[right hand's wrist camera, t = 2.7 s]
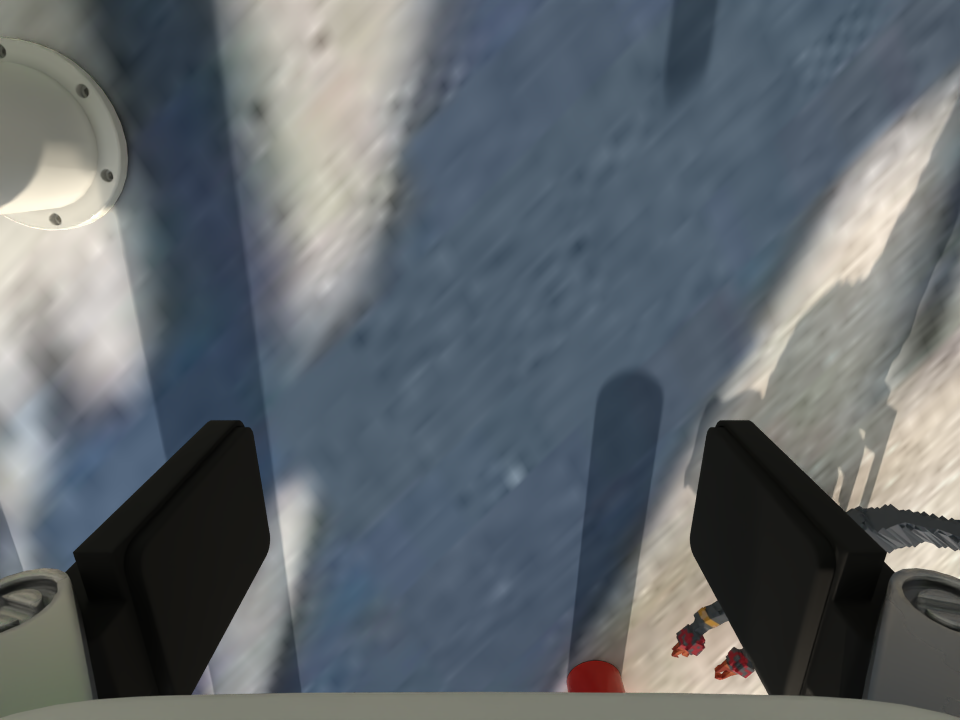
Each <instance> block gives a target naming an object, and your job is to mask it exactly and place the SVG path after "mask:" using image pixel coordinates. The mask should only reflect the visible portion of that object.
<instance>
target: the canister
mask: <svg viewBox="0 0 960 720" xmlns="http://www.w3.org/2000/svg"><path fill="white" fill-rule="evenodd" d="M567 688H568V693H625V690H624V686H623V682H622V679H621V675H620V673H619V671H618V670H617V668H616V667H614V666H613V665H612V664H610V663H607V662H604V661H588V662H584V663H581V664H579V665H578V666H576V667H575V668H573V669H572V671H571V672H570V673H569V675H568V678H567Z"/></svg>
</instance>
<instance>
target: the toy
mask: <svg viewBox="0 0 960 720" xmlns="http://www.w3.org/2000/svg"><path fill="white" fill-rule="evenodd" d="M846 513H847V514H848V515H849V516H850V517H851V518H852V519H853V520H854V521H855V522H856V523H857V524H858V525H859V526H860V527H861V528H862V529H863V530H864V531H865V532H866V533H868V534H869V535H870V536H871V537H872V538H873V539H874V540H875V541H876V542H877V543H878V544H879V545H880V546H881V547H882V548H883V549H884V550H885V551H886V552H888V553H891V552H892V551H893V550H894V549H897V548H903V547H906V546H907V547H911V546H912V545H913V546H914V547H916V546H917V545H918V544H919V543H923V542H924V541H926V542H929V543H933V544H934V545H936V546H937V547H938V548H941V547H942V546H943V547H944V548H946V547H950V548H951V549H953V550H954V551H956V550H958V549H959V550H960V520H954V519H953V518H951V519H949V520H947V519H946V518H945V517H943V516H941V517H940V518H938V517H937V516H936V515H934V514H931V515H930V516H929V515H928V514H927V513H925V512H922V513H921V514H920V513H919V512H914V513H913V512H912V511H911V510H906V511H905V510H898V509H897V508H895V507H894V506H893V505H891V504H890V505H889V506H887V505H886V504H885V505H884V506H883V507H881V508H880V509H879V508H878V507H876V508H875V509H874V508H872V507H871V508H868V509H863V508H862V507H860V506H859V507H857V508H855V509H851V510H849V511H847V512H846ZM694 617H695V621H694V622H693V623H692V624H691V625H689V624H688V625H687V626H685V627H684V628H683V629H682V630H680V631H679V632H678V633H677V639H678V643H677V644H676V645H675V646H674V647H673V648H672V650H673V652H672V656H674V657H678V656H677V655H679V654H681V653H682V655H683V656H685V657H688V655H689V654H690V655H693V654H694V655H696V656H697V655H698V654H700V653H701V652H702V650H703V649H704V648H705V646H704V644H705V639H704V637H703V634H704V633H706V632H707V631H708V630H709V629H712V628H714V627H717V626H719V625H721V624H722V623H724V622H726V621H729V620H728V618H727V617H726V615H725V613H724V611H723V609H722V607H721V606H720V604H719V602H718V601H716V602H715V603H713V604H711V605H709V606H706V607H704V608H703V607H702V608H701V609H700V610H699V611H698V612H696V613H695V614H694ZM678 658H679V657H678ZM726 658H727V659H726V660H725V661H724V662H723V663H722V664H720V665H718V666H717V667H716V668H715V678H716V679H719V680H722V679H725V678H727V677H729V676H732V675H737V674H740V675H741V676H743V677H744V678H746V677H748V676H749V675H750V674H751V673H753V672H754V671H755V670H754V667H753V665H752V663H751V661H750V659H749V657H748V656H747V654H746V652H745V650H744V648H743V649H737V648H735V647H733V648H732V649H731V650H730V651H729V652H728V655H727V656H726ZM722 671H724V672H723V673H722V674H720V672H722Z"/></svg>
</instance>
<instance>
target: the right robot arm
mask: <svg viewBox="0 0 960 720" xmlns="http://www.w3.org/2000/svg"><path fill="white" fill-rule="evenodd" d="M88 90H89V94H88ZM127 166H128V154H127V144H126V139H125V136H124V132H123V128H122V125H121V122H120V120H119V118H118V116H117V114H116V111H115V109H114V107H113V105H112V104H111V102H110V101H109V99H108V98H107V96H106V95H105V93H104V91H103V90H102V89H101V88H100V86H99V85H98V84H97V83H96V82H95V81H94V80H93V79H92V77H91V76H90V75H89V74H88V73H87V72H85V71H84V70H83V69H82V68H81V67H79V66H78V65H77V64H76V63H75V62H73V61H72V60H70V59H69V58H67V57H65V56H64V55H62V54H60V53H59V52H57V51H55V50H53V49H50V48H47V47H45V46H42V45H40V44H37V43H33V42H29V41H25V40H21V39H14V38H2V37H0V215H3V216H5V217H7V218H9V219H10V220H12V221H14V222H17V223H20V224H23V225H26V226H28V227H32V228H38V229H43V230H66V229H72V228H78V227H81V226H84V225H87V224H90V223H92V222H94V221H96V220H97V219H99V218H100V217H102V216H103V215H105V214H106V213H107V212H108V211H109V210H110V209H111V208H112V206H113V205H114V204H115V203H116V201H117V199H118V197H119V196H120V194H121V192H122V190H123V186H124V183H125V180H126V177H127ZM112 174H113V176H112ZM269 545H270V533H269V527H268V521H267V514H266V508H265V502H264V496H263V490H262V484H261V478H260V472H259V466H258V460H257V453H256V447H255V441H254V435H253V431H252V430H251V428H249V427H244V425H243V423H242V422H241V421H240V420H211V421H209V422H207V423H206V424H205V425H204V426H203V427H202V428H201V429H200V430H199V431H198V432H197V433H196V434H195V435H194V436H193V437H192V438H191V439H190V440H189V441H188V442H187V443H186V444H185V445H184V446H183V447H182V448H180V449H179V450H178V451H177V452H176V453H175V454H174V455H173V456H172V457H171V458H170V459H169V460H168V461H167V462H166V463H165V464H164V465H163V466H162V467H161V468H160V469H159V470H158V471H157V472H156V473H155V474H154V475H153V476H152V477H150V478H149V479H148V480H147V481H146V482H145V483H144V484H143V485H142V486H141V487H140V488H139V489H138V490H137V491H136V492H135V493H134V494H133V495H132V496H131V497H130V498H129V499H128V500H127V501H126V502H125V503H124V504H123V505H121V506H120V507H119V508H118V509H117V510H116V511H115V512H114V513H113V514H112V515H111V516H110V517H109V518H108V519H107V520H106V521H105V522H104V523H103V524H102V525H101V526H100V527H99V528H98V529H97V530H96V531H95V532H94V533H92V534H91V535H90V536H89V537H88V538H87V539H86V540H85V541H84V542H83V543H82V544H81V545H80V546H79V547H78V548H77V549H76V550H75V551H74V552H73V554H74V557H75V560H76V562H75V563H74V564H73V565H72V566H71V567H70V568H69V569H68V570H67V571H66V572H62V571H60V570H58V569H46V568H42V569H35V570H28V571H24V572H20V573H17V574H13V575H10V576H7V577H5V578H2V579H0V720H960V579H958V578H955V577H953V576H950V575H947V574H943V573H940V572H936V571H932V570H925V569H918V568H914V569H902V570H900V571H898V572H894V571H893V570H892V569H891V568H890V567H889V566H888V565H887V564H886V563H885V562H884V560H885V557H886V554H887V552H886V551H885V550H884V549H883V548H882V547H881V546H880V545H879V544H878V543H877V542H876V541H875V540H874V539H873V538H872V537H871V536H870V535H869V534H868V533H866V532H865V531H864V530H863V529H862V528H861V527H860V526H859V525H858V524H857V523H856V522H855V521H854V520H853V519H852V518H851V517H850V516H849V515H848V514H847V513H846V512H845V511H844V510H843V509H842V508H841V507H840V506H839V505H837V504H836V503H835V502H834V501H833V500H832V499H831V498H830V497H829V496H828V495H827V494H826V493H825V492H824V491H823V490H822V489H821V488H820V487H819V486H818V485H817V484H816V483H815V482H814V481H813V480H812V479H811V478H810V477H808V476H807V475H806V474H805V473H804V472H803V471H802V470H801V469H800V468H799V467H798V466H797V465H796V464H795V463H794V462H793V461H792V460H791V459H790V458H789V457H788V456H787V455H786V454H785V453H784V452H783V451H782V450H781V449H780V448H778V447H777V446H776V445H775V444H774V443H773V442H772V441H771V440H770V439H769V438H768V437H767V436H766V435H765V434H764V433H763V432H762V431H761V430H760V429H759V428H758V427H757V426H756V425H755V424H754V423H753V422H751V421H749V420H720V421H719V422H718V423H717V425H716V427H711V428H709V430H708V431H707V435H706V441H705V447H704V453H703V460H702V466H701V472H700V478H699V484H698V490H697V496H696V502H695V508H694V514H693V521H692V527H691V533H690V545H691V550H692V553H693V555H694V557H695V559H696V561H697V563H698V565H699V567H700V568H701V570H702V572H703V574H704V576H705V578H706V580H707V581H708V583H709V585H710V587H711V589H712V591H713V593H714V594H715V596H716V598H717V600H718V602H719V604H720V606H721V607H722V609H723V611H724V613H725V615H726V617H727V618H728V620H729V622H730V624H731V626H732V628H733V630H734V631H735V633H736V635H737V637H738V639H739V641H740V643H741V644H742V646H743V648H744V650H745V652H746V654H747V656H748V657H749V659H750V661H751V663H752V665H753V667H754V669H755V670H756V672H757V674H758V676H759V678H760V680H761V682H762V683H763V685H764V687H765V689H766V691H767V693H768V695H737V694H688V693H561V692H399V693H272V694H223V695H192V693H193V691H194V689H195V687H196V685H197V683H198V682H199V680H200V678H201V676H202V674H203V672H204V670H205V669H206V667H207V665H208V663H209V661H210V659H211V657H212V656H213V654H214V652H215V650H216V648H217V646H218V644H219V643H220V641H221V639H222V637H223V635H224V633H225V631H226V630H227V628H228V626H229V624H230V622H231V620H232V618H233V617H234V615H235V613H236V611H237V609H238V607H239V606H240V604H241V602H242V600H243V598H244V596H245V594H246V593H247V591H248V589H249V587H250V585H251V583H252V581H253V580H254V578H255V576H256V574H257V572H258V570H259V568H260V567H261V565H262V563H263V561H264V559H265V557H266V555H267V553H268V550H269Z"/></svg>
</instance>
